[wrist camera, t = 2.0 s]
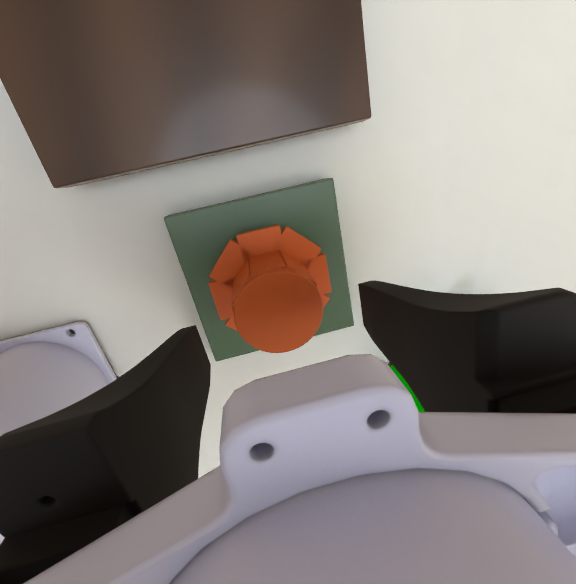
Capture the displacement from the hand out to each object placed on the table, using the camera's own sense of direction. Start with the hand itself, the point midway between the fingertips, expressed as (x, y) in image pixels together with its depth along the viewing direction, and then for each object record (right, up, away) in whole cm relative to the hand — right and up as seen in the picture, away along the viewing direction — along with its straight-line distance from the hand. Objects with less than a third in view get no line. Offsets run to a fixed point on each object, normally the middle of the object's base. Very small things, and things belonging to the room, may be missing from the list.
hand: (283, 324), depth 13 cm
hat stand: (-1, +3, +7) cm, 8 cm away
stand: (-5, +14, +2) cm, 15 cm away
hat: (-1, +2, +5) cm, 5 cm away
